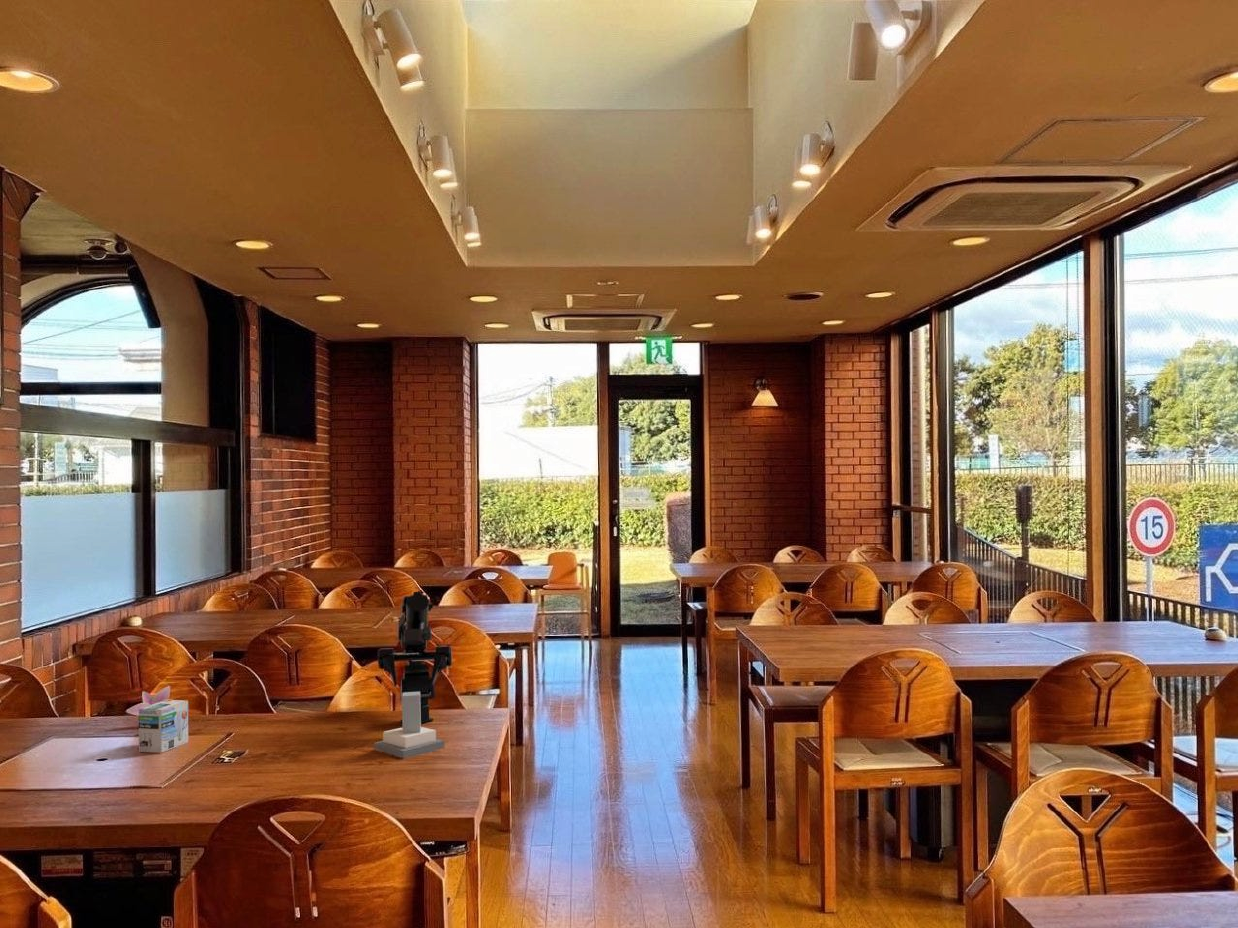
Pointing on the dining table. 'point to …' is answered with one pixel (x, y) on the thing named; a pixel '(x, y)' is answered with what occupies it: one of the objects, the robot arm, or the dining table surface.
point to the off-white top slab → (409, 737)
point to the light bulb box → (163, 726)
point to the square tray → (409, 748)
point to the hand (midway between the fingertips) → (413, 684)
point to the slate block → (411, 712)
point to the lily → (150, 700)
